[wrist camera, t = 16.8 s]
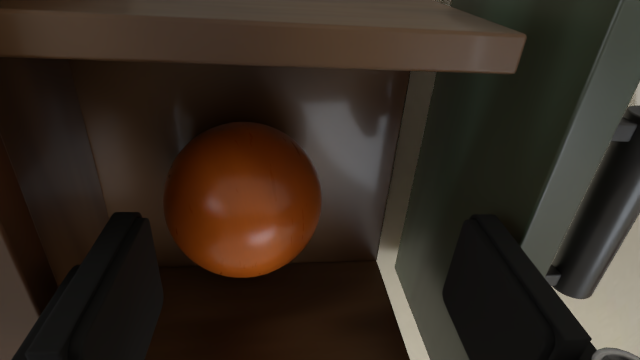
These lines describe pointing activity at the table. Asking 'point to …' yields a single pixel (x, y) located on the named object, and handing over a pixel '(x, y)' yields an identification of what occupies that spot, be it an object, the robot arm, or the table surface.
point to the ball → (242, 199)
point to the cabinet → (19, 264)
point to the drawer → (330, 148)
